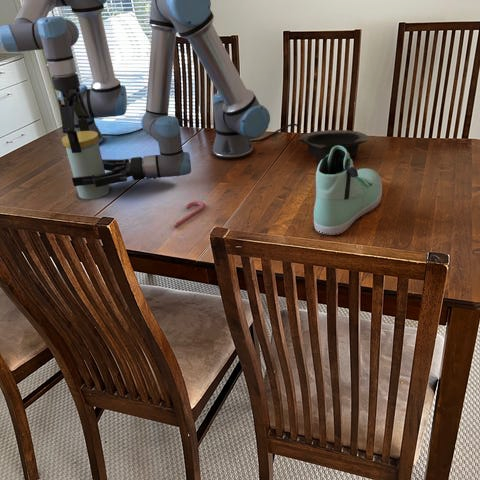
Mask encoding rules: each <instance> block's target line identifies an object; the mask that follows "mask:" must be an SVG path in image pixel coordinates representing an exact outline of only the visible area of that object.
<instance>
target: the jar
mask: <svg viewBox="0 0 480 480" xmlns="http://www.w3.org/2000/svg"><path fill="white" fill-rule="evenodd" d="M80 148H81V151H82V152H81V153H72V151H71V148H68V147H65V150H66V155H67V158H68V161H69V166H70V169H71V172H72V176H73V177H72V178H74V177H83V176H92V175H94V176H98V175H101V174H104V173H106V170H104V165H103V161H102V159H103V157H102V153H101V149H100V144H98V141H97V142H96V143H94V144H92V145H89V146H85V147H80ZM75 188H76V191H77V194H78V195H77V196H78V197H79V198H80V199H81V200H95V199H99V198H102V197H104V196H105V195H108V193H109V192H110V187H109V185H105V186H100V187H96V186H95V185H94V184H91V185H82V186H75Z"/></svg>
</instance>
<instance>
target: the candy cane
mask: <svg viewBox="0 0 480 480" xmlns="http://www.w3.org/2000/svg"><path fill="white" fill-rule="evenodd" d="M193 207H197V208H196V209H194V210H192V212H190V213H188V214H187V215H186V216H184V217H182V218H181V219H179V220H178V221H176V222H175V223H173V227H174V228H175V229H177V228H179V227H180V226H182V225H184V224H185V223H186V222H188V221H189V220H191V219H193V218H194V217H196V216H197V215H198V214H200V213H202V212H203V211H204V210H206V207H207V206H206V204H205V203H204V202H203V201H200V200H199V201H198V200H197V201H191V202H189V203H187V204H186V205H185V208H186V209H187V210H190V209H191V208H193Z"/></svg>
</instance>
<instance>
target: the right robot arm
mask: <svg viewBox="0 0 480 480" xmlns="http://www.w3.org/2000/svg"><path fill="white" fill-rule="evenodd" d="M211 1H212V0H151V1H150V11H149V21H148V23H149V24H148V25H149V26H150V28H151V41H150V51H149V52H150V54H149V65H148V67H149V68H148V79H147V90H146V91H147V92H146V105H145V114H143V115H142V117H141V120H140V121H141V122H140V125H141V128H143V131H144V133H146V134H147V135H148V136H150V137H151V138H152V139H154V140H155V141H156V142H157V144H158V150H159V154H154V155H153V154H152V155H144V156H143V157H141V156H135V157H131V158H124V159H123V158H121V159H109V158H107V159H106V158H105V159H104V158H102V161H103V165H104V170H105V171H107V172H105V173H104V174H101V175H98V176H94V175H92V176H83V177H71V180H72V184H73V187H76V186H82V185H91V184H94V185H95V186H96V187H100V186H105V185H108V186H109V185H113V184H118V183H125V182H127V181H128V179H127V178H130V177H132V179H133V181H145V179H147V180H151V179H153V180H156V179H161V178H170V177H180V176H187V175H190V174H191V173H192V163H191V156H190V152H188V151H184V148H183V141H182V135H181V126H180V122H178V120H179V119H178V118H177V116H173V115H169V107H170V98H171V97H170V96H171V87H172V79H173V78H172V77H173V67H174V59H175V50H176V38H177V33H178V36H179V37H180V38H182V39H186V40H187V41H188V42H189V44H190V46H191V48H192V49H193V52H194V53H195V54H196V56H197V58H198V60H199V62H200V63H201V65H202V67H203V68H204V70H205V72H206V74H207V75H208V77H209V79H210V81H211V82H212V84H213V86H214V87H215V89H216V91H217V92H216V93H214V94H213V96H212V108H213V109H212V110H213V117H214V127H215V138H214V141H213V147H212V155H213V156H214V157H215V158H217V159H219V160H227V161H232V160H240V159H244V158H247V157H249V156H251V155H252V154H253V152H254V146H253V143H258V142H259V143H260V142H262V141H265V140H267V139H269V138H271V137H273V136H274V135H276V134H277V133H279V132H281V131H283V130H286V129H287V128H289V127H293V126H295V127H296V128H297V127H298V128H299V127H300V126H299V124H297V123H289V124H287V125H285V126H283V127H280V128H278V129H277V130H275V131H274V132H272V133H271V134H268V135H266V136H264V137H263V138H260V137H262V136H263V135H264V134H265V133H266V131H267V130H268V128H269V124H270V123H271V115H270V111H269V110H268V109H267V107H265V106H264V105H263V104H260V102H259V100H258V98H257V96H256V94H255V92H254V91H253V90H252V89H248V88H247V86H246V85H245V83H244V82H243V79H242V78H241V76H240V73H239V72H238V70H237V68H236V66H235V64H234V62H233V61H232V59H231V57H230V55H229V53H228V51H227V49H226V48H225V46H224V44H223V42H222V40H221V38H220V36H219V34H218V32H217V30H216V28H215V27H214V25H213V22H214V19H215V18H214V17H215V15H214V14H213V11H212V9H211V6H212V3H211ZM258 138H259V139H258ZM130 159H131V160H130ZM129 160H130V162H129ZM108 171H111V172H108Z"/></svg>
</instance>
